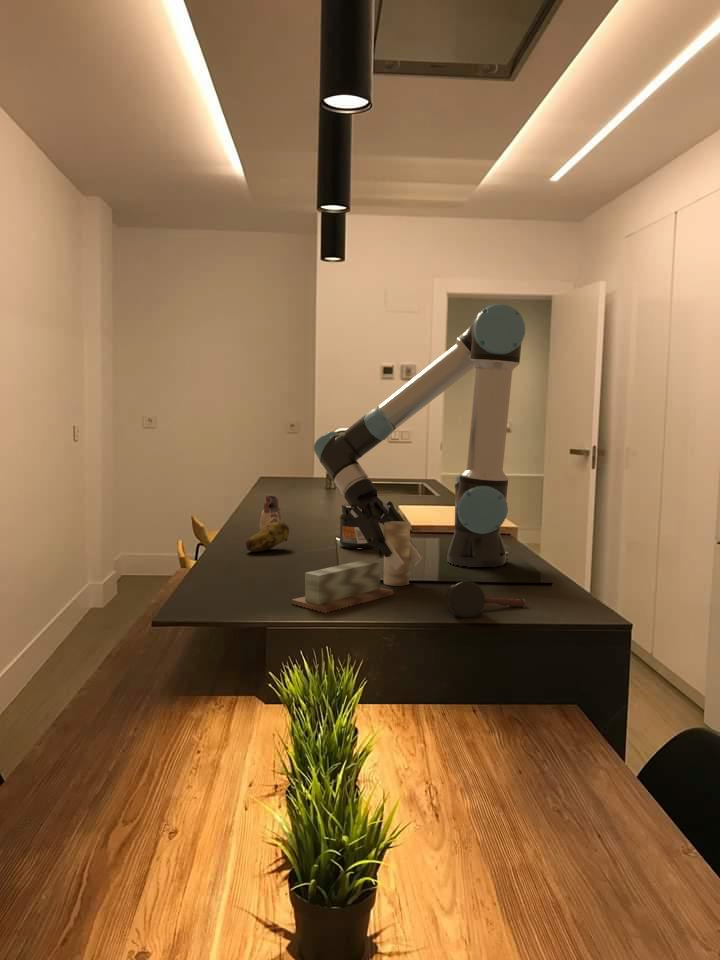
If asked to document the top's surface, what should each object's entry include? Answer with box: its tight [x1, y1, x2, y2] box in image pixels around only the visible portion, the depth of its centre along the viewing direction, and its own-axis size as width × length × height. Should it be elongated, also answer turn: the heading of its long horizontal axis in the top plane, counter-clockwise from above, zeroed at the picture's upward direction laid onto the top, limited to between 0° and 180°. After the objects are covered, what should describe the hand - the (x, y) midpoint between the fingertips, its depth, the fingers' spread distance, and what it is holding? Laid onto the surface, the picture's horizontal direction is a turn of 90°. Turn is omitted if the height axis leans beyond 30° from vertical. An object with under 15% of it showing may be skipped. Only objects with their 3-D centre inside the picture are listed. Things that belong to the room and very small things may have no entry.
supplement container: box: [338, 502, 375, 550], centre depth 239 cm, size 10×10×12 cm
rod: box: [383, 521, 411, 587], centre depth 194 cm, size 6×6×14 cm
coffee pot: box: [445, 580, 527, 619], centre depth 170 cm, size 8×18×8 cm
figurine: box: [258, 494, 282, 531], centre depth 262 cm, size 7×7×12 cm
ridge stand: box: [291, 559, 394, 614], centre depth 179 cm, size 21×10×7 cm, turn 138°
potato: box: [245, 521, 290, 553], centre depth 232 cm, size 8×13×8 cm, turn 112°
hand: (408, 564), depth 192 cm, fingers closed on rod, 6 cm apart
